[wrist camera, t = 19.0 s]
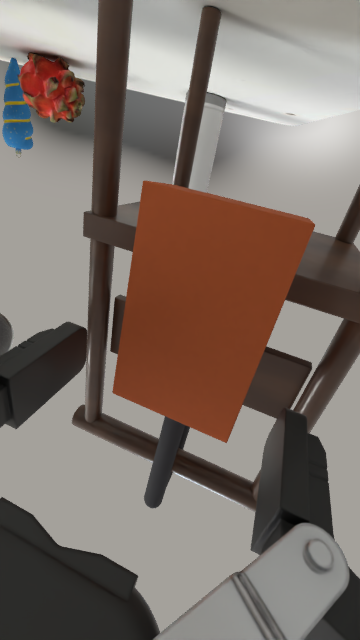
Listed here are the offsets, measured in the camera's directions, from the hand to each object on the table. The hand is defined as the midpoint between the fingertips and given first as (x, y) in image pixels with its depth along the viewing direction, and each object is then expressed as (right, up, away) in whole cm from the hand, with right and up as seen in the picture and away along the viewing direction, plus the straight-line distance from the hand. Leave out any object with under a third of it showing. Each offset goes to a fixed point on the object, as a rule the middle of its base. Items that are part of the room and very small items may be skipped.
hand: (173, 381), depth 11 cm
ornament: (-28, +47, +38) cm, 66 cm away
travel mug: (+4, +37, +34) cm, 50 cm away
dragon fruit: (-18, +40, +31) cm, 54 cm away
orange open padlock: (+3, +7, +1) cm, 8 cm away
